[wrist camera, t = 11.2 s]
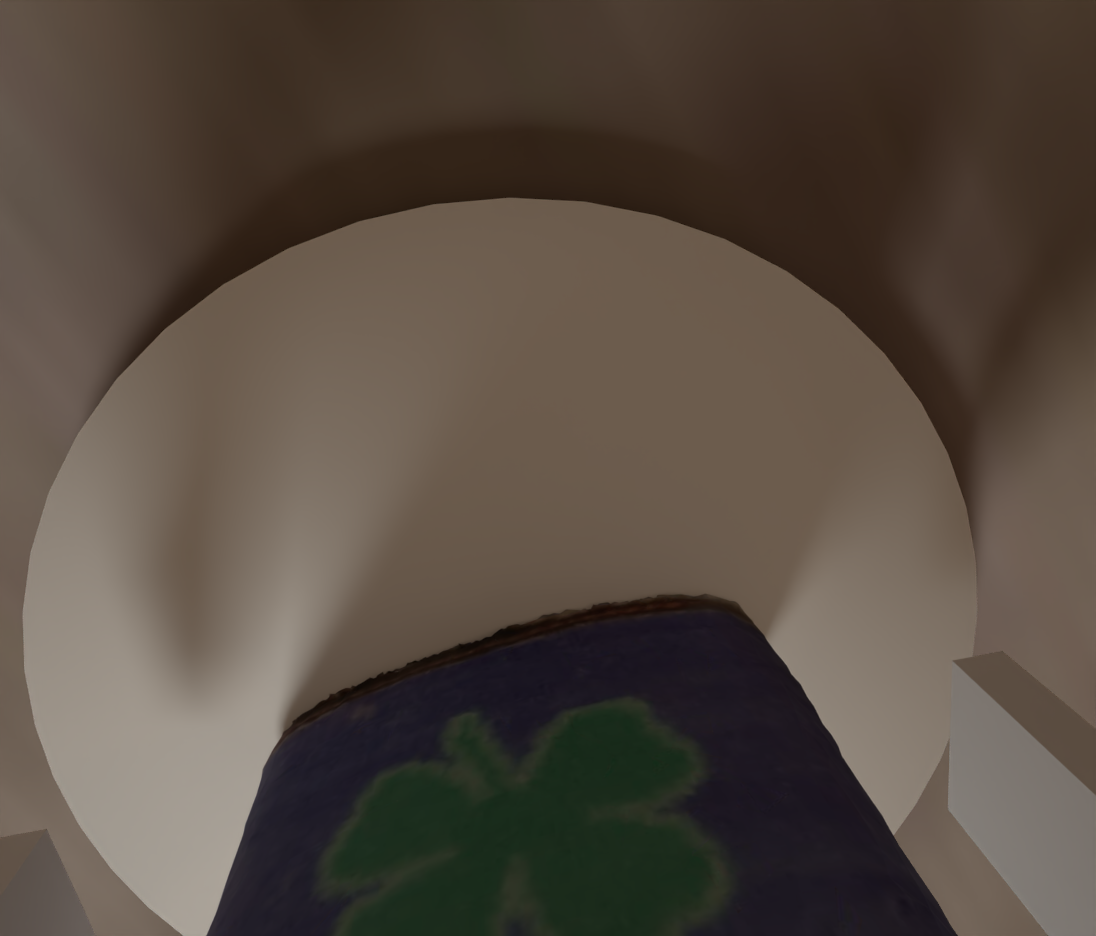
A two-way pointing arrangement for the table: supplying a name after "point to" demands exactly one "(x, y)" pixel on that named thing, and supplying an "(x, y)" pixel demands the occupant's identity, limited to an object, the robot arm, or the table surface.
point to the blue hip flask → (574, 795)
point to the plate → (475, 505)
